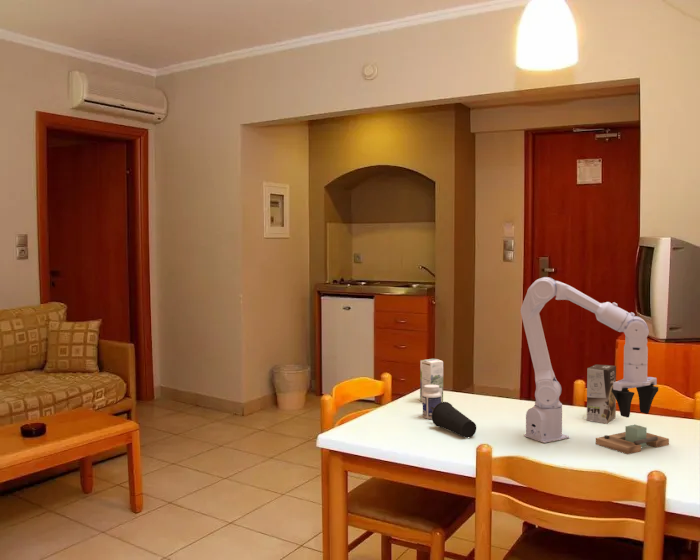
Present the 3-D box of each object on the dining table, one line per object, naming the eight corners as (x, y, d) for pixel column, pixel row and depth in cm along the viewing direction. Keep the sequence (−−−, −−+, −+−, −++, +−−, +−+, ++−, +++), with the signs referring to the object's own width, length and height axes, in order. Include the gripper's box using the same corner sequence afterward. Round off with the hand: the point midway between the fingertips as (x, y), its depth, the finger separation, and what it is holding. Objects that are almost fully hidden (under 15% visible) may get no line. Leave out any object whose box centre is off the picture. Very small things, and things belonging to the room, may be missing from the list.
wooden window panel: (627, 454, 163) (627, 444, 163) (595, 444, 172) (595, 434, 172) (668, 444, 171) (669, 434, 170) (636, 435, 179) (636, 426, 179)
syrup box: (432, 399, 226) (432, 358, 226) (443, 402, 221) (443, 360, 221) (419, 401, 223) (419, 359, 223) (430, 404, 218) (430, 362, 218)
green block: (637, 448, 168) (637, 429, 167) (625, 445, 171) (625, 426, 171) (646, 446, 169) (646, 427, 169) (634, 443, 173) (634, 424, 172)
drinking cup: (459, 447, 178) (423, 423, 196) (482, 437, 181) (444, 414, 199) (455, 422, 176) (418, 400, 194) (478, 412, 179) (439, 392, 197)
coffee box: (608, 424, 192) (608, 369, 191) (586, 420, 195) (586, 367, 195) (616, 417, 199) (616, 365, 198) (595, 414, 203) (595, 363, 202)
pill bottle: (444, 416, 202) (444, 384, 202) (436, 420, 198) (436, 388, 197) (427, 414, 206) (427, 383, 205) (419, 418, 201) (419, 386, 200)
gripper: (629, 368, 163) (629, 421, 163) (667, 363, 169) (666, 414, 170) (606, 364, 169) (606, 415, 169) (643, 359, 176) (643, 408, 176)
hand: (634, 414), depth 170 cm, fingers open, 7 cm apart
